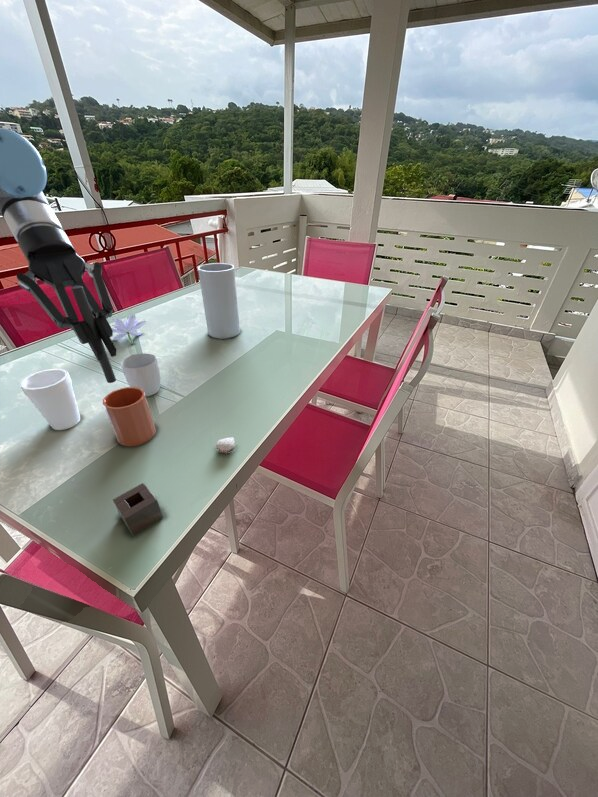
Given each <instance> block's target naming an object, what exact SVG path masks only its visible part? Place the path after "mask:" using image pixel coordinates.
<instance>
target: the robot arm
mask: <svg viewBox="0 0 598 797" xmlns="http://www.w3.org/2000/svg"><path fill="white" fill-rule="evenodd" d="M47 174H48V173H47V168H46V166H45V163H44V161H43V158H42V156H41V154H40V153H39V152H38V149H36V147H35V146H34V145H33V144H32V143H31V142H30V141H29V140H28V138H25V137H24V136H22V135H21V134H19V133H18V132H16V131H14V130H11V129H8V128H0V215H1V216H2V218H3V219H4V222H5V223H6V224H7V227H8V228H9V230H10V233H11V234H12V236H13V237H14V240H15V241H16V242H17V244H18V247H19V249H20V250H21V252H22V254H23V256H24V258H25V260H26V261H27V263H28V270H27V271H26V272H24V273H21V272H19V273H17V274H16V279H17V283H18V285H19V287H20V288H22V289H23V290H25V291H26V292H27V293H29V294H31V296H32V297H33V298H34V299H35V301H36V302H37V303H38V304H39V306H40V307H41V308H42V309H43V310H44V312H45V313H46V315H48V317H49V318H50V319H51V320H52V321H53V323H54V324H55V325H56V327H58V328H59V329H65V328H69V329H71V330H72V331H73V332H74V334H75V336H76V338H77V339H78V341H79V343H80V344H81V345H85V344H88V345H89V347H90V349H91V351H92V353H93V354H94V357H95V358H96V360H97V361H98V362H99V361H100V360H103V353H102V351H101V349H100V347H99V346H98V344H97V342H96V340H95V338H94V337H93V335H92V333H91V331H90V329H89V328H88V326H87V324H86V322H85V320H81V321H80V320H79V316H78V315H77V313H76V310H75V309H74V305H73V303H72V301H71V299H70V297H69V295H68V292H67V290H66V288H67V287H68V288H69V287H71V288H72V287H74V286H82V287H83V289H84V292H85V295H86V298H87V300H88V303H89V306H90V309H91V311H92V314H93V317H94V320H95V323H96V325H97V328H98V331H99V334H100V336H101V339H102V342H103V345H104V347H105V349H106V350H107V352H108V353H109V355H110V357H111V358H112V357H116V356H117V350H118V349H117V347H116V346H115V343H114V341H113V339H111V337H114V336H113V334H114V332H113V330H112V329H113V328H112V327H111V326H112V325H110V322H109V321H108V318H111V317H112V316H113V310H114V307H113V305H112V302H111V298H110V295H109V293H108V290H107V286H106V284H105V281H104V278H103V276H102V272H103V265H102V263H101V262H98V261H95V262H94V263H89V262H86V261H85V260H84V259H83V258H82V257H81V256H79V254H78V253H77V251H76V249H75V247H74V245H73V244H72V241H70V238H69V237H68V235H67V234H66V232H65V230H64V228H63V226H62V224H61V223H60V221H59V219H58V218H57V215H56V214H55V212H54V210H53V209H52V206H51V205H50V203H49V201H48V199H47V198H46V195H45V194H44V192H43V191H44V190H45V188H46V185H47V182H48V181H47V180H48V175H47ZM85 272H87V274H88V276H89V277H91V278H92V279H93V284H94V288H95V290H96V293H97V296H98V299H99V301H100V305H101V306H100V305H99V303H98V302H97V300H96V298H95V297H94V296H93V294H92V293H91V291H90V289H89V288H88V286H86V283H85V282H84V280H83V278H84V274H85ZM38 281H41V282H42V283H45V285H48V286H49V287H52V288H53V290H54V292H55V295H56V296H57V298H58V301H59V302H60V305H61V308H62V309H63V312H64V314H65V316H64V315H63V314H62V313H61V311H60V310H59V309H58V308H57V306H56V305H55V304H54V303H53V301H52V300H51V299H50V298H49V297H48V295H47V294H46V293H45V291H43V289H42V288H41V286H40V285H39V284H38Z"/></svg>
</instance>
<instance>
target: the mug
mask: <svg viewBox="0 0 598 797" xmlns="http://www.w3.org/2000/svg"><path fill="white" fill-rule="evenodd" d="M120 365H121V370H122V372H123V375H124V377H125V381H126V383H127V385H128V387H137V388H141V389H142V390H143V391H144V392H145V395H146V397H151V396H153V395H156V394H157V393H158V392H159V391H160V389H161V383H162V381H161V379H162V378H161V371H160V370H161V369H160V366H159V363H158V358H157V357H156V356H155V355H154V354H152V353H145V352H144V353H135V354H132V355H129V356H127V357H125V358H124V359H123V360H122V361H121V364H120Z"/></svg>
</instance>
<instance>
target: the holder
mask: <svg viewBox="0 0 598 797" xmlns="http://www.w3.org/2000/svg"><path fill="white" fill-rule="evenodd" d="M112 501H113V504H114V505H115V508H116V510H117V512H118V514H119V516H120V518H121V520H122V522H123V523H124V524H125V526H126V527H127V529H128V531H129V532H130V534H131V536H132V537H134V536H136V535H137V534H139V533H141V532H142V531H144V530H146V528H148V527H150V526H152V525H153V524H154V523H156V522H158V521H159V520H161V519H162V518H163V517H164V516H163V513H162V510H161V508H160V505H159V501H158V499H157V498H156V496H155V495H154V494H153V493H152V492H151V490H150V489H149V488H148V486H147V485H146V484H145V482H142V483H140V484H138V485H136V486H134V487H133V488H131V489H129V490H127V491H125V492H124V493H122V494H120V495H119V496H117V497H115V498H112Z"/></svg>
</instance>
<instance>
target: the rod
mask: <svg viewBox="0 0 598 797" xmlns="http://www.w3.org/2000/svg"><path fill="white" fill-rule="evenodd" d="M71 291H72V294H73V296H74V299H75V301H76V304H77V307H78V309H79V312H80V315H81V317H82V321H84V320H85V322H86V324H87V326H88V328H89V329H90V331H91V333H92V335H93V337H94V338H95V340H96V342H97V344H98V346H99V347H100V349H101V351H102V353H103V360H100V361H98V363H99V365H100V367H101V369H102V372H103V375H104V378H105V380H106V382H107V383H108V384H111V383H112V384H113V383H115V382H116V381H117V378H116V375H115V372H114V370H113V367H112V363H111V361H110V358H109V356H108V353H107V351H106V350H107V349H106V346H105V344H104V343H103V341H102V339H101V336H100V334H99V331H98V328H97V325H96V323H95V320H94V316H93V314H92V311H91V309H90V306H89V303H88V300H87V298H86V295H85V292H84V289H83V287H82V286H74V287H71Z"/></svg>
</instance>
